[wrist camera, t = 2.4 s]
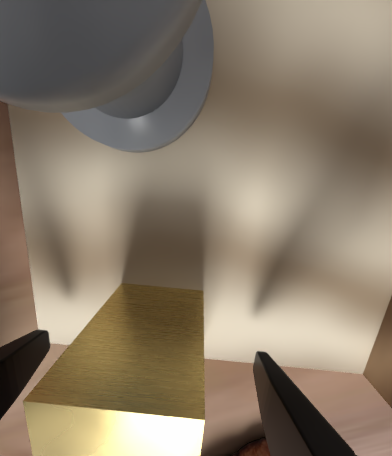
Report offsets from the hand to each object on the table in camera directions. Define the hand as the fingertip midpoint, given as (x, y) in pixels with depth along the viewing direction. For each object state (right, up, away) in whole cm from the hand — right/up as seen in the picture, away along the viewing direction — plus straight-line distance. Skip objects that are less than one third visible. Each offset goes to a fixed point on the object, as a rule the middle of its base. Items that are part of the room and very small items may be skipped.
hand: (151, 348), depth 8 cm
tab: (0, 0, +1) cm, 2 cm away
